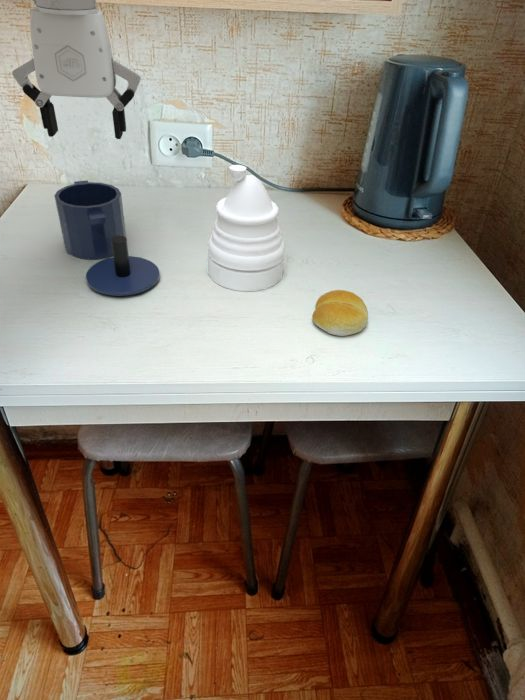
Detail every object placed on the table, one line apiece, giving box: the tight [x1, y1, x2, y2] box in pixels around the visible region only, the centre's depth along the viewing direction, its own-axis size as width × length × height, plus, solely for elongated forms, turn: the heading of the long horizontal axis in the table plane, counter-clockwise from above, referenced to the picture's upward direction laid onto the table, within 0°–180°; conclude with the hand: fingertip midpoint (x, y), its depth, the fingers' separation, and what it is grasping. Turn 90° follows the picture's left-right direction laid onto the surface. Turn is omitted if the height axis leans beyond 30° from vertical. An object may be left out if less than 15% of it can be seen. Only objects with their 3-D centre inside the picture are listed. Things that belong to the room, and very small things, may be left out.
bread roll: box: [311, 289, 369, 337], centre depth 77 cm, size 8×9×4 cm
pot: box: [53, 179, 127, 261], centre depth 89 cm, size 11×16×10 cm, turn 25°
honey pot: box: [207, 164, 285, 292], centre depth 82 cm, size 13×13×18 cm
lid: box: [85, 236, 160, 297], centre depth 81 cm, size 12×12×7 cm
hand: (86, 135), depth 77 cm, fingers open, 9 cm apart
